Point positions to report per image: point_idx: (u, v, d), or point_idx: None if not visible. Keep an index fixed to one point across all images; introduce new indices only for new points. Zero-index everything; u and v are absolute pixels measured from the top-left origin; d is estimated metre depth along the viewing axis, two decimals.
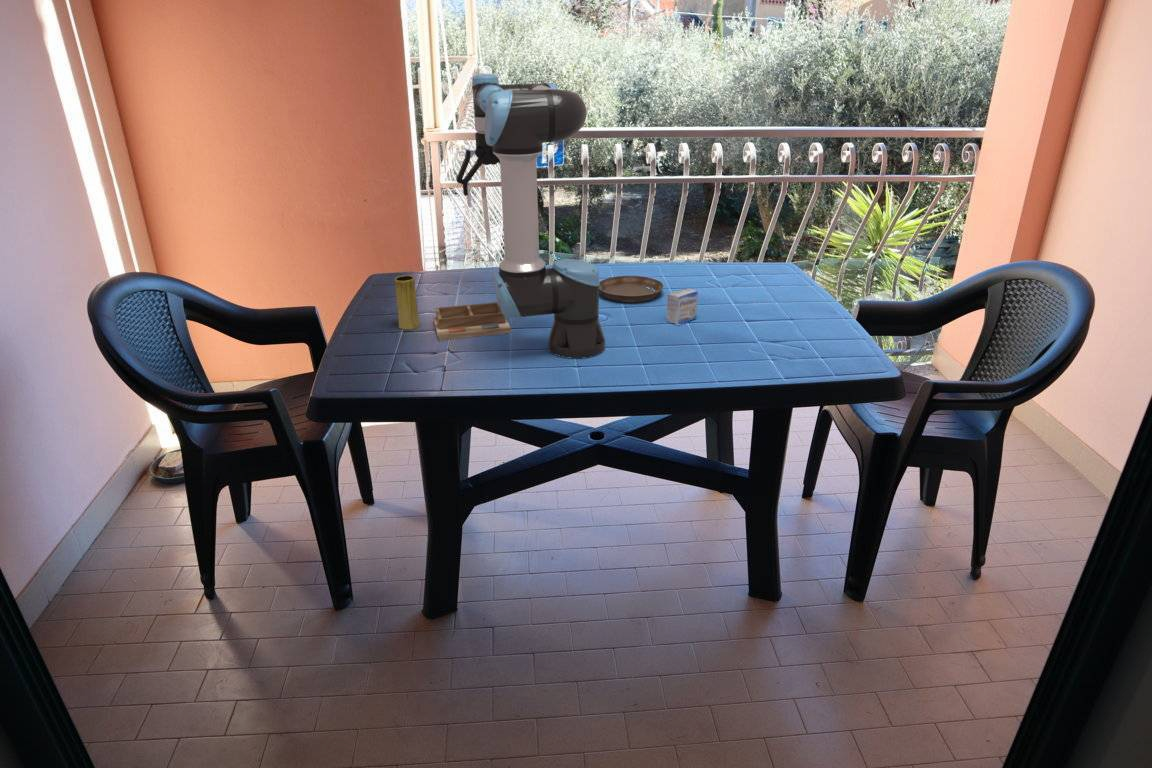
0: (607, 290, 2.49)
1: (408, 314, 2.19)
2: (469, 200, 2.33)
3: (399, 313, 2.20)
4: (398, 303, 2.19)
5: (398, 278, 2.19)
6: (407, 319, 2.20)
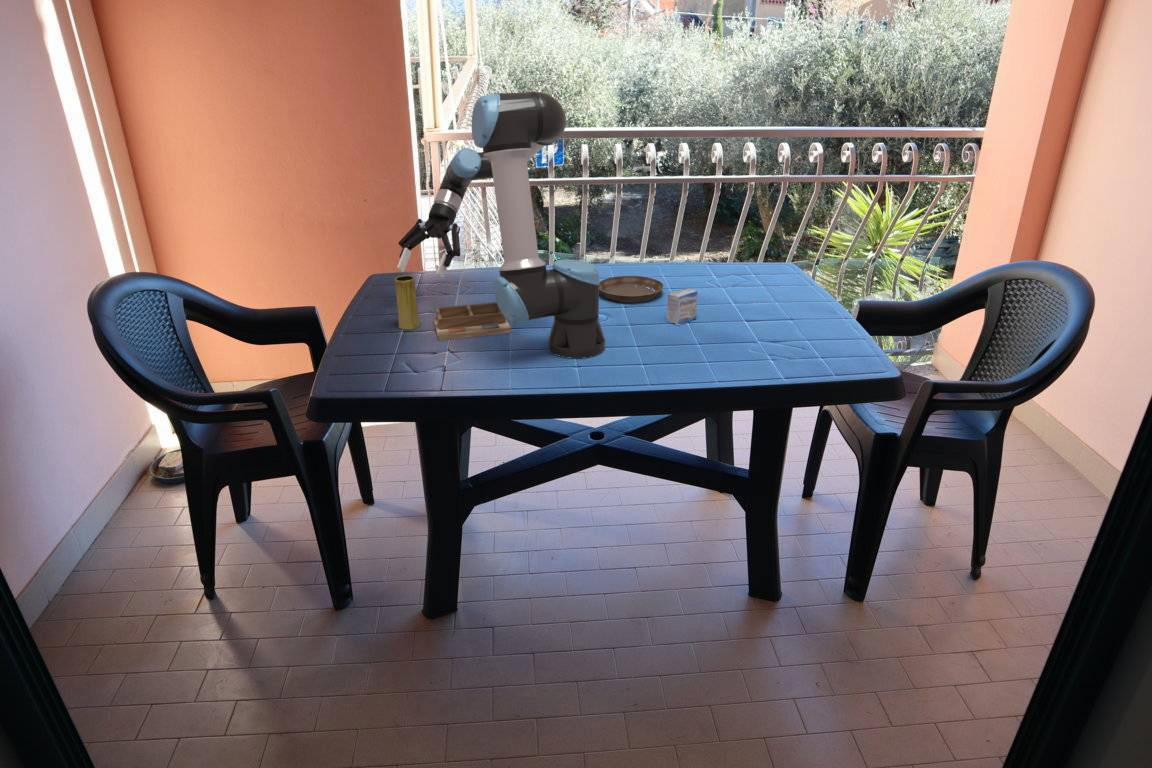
0: (607, 290, 2.49)
1: (408, 314, 2.19)
2: (400, 261, 2.26)
3: (399, 313, 2.20)
4: (398, 303, 2.19)
5: (398, 278, 2.19)
6: (407, 319, 2.20)
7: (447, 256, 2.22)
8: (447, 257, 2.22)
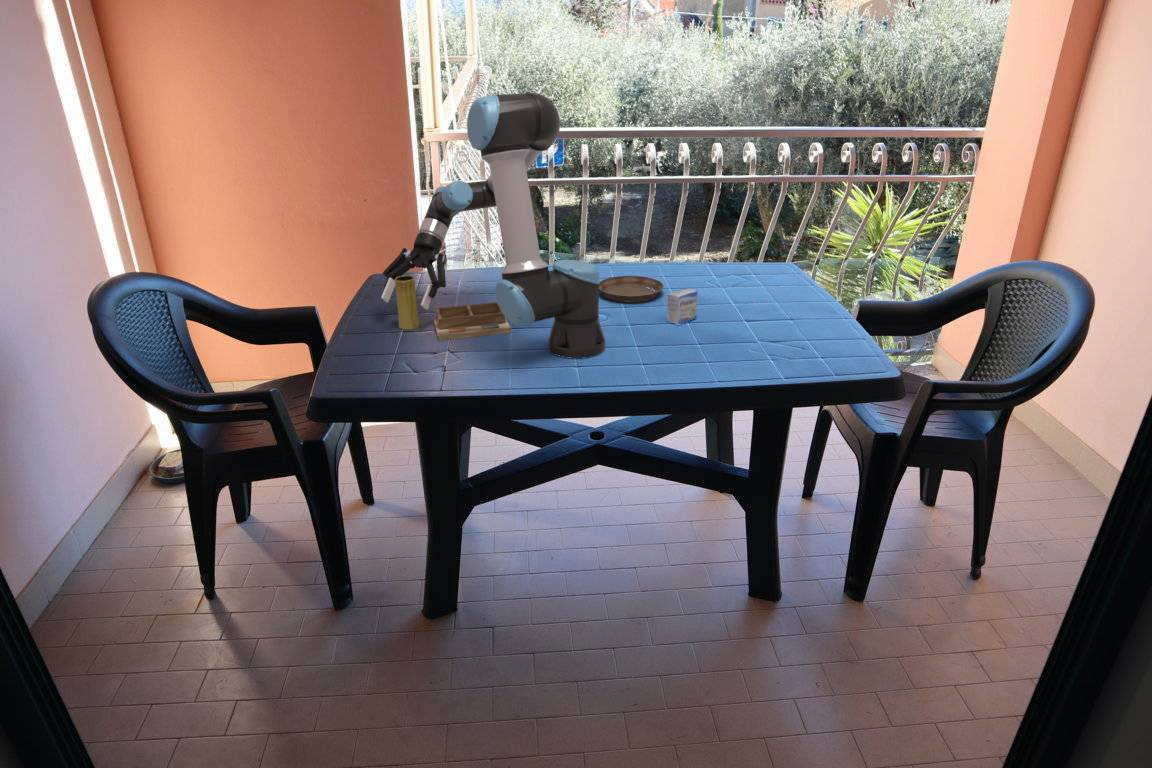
0: (607, 290, 2.49)
1: (408, 314, 2.19)
2: (384, 291, 2.22)
3: (399, 313, 2.20)
4: (398, 303, 2.19)
5: (398, 278, 2.19)
6: (407, 319, 2.20)
7: (432, 287, 2.18)
8: (432, 288, 2.18)
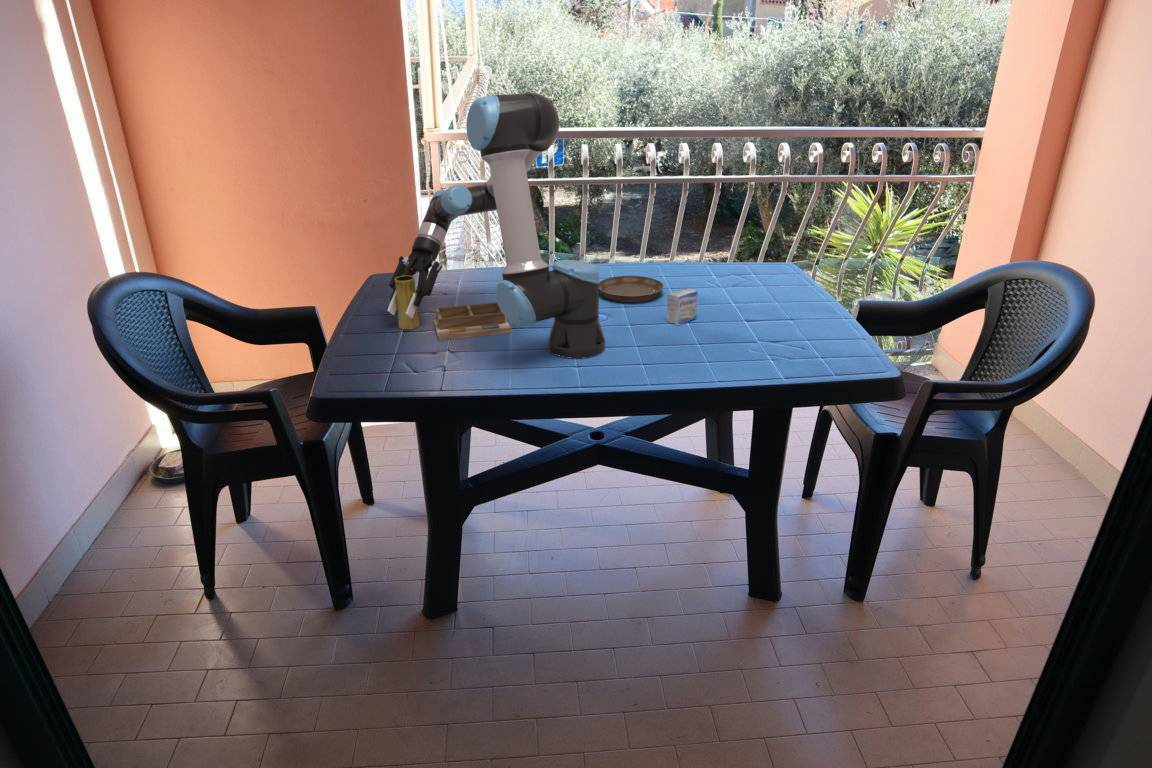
0: (607, 290, 2.49)
1: None
2: (390, 304, 2.19)
3: (399, 313, 2.20)
4: (398, 303, 2.19)
5: (398, 278, 2.19)
6: (407, 319, 2.20)
7: (417, 296, 2.18)
8: (417, 297, 2.18)
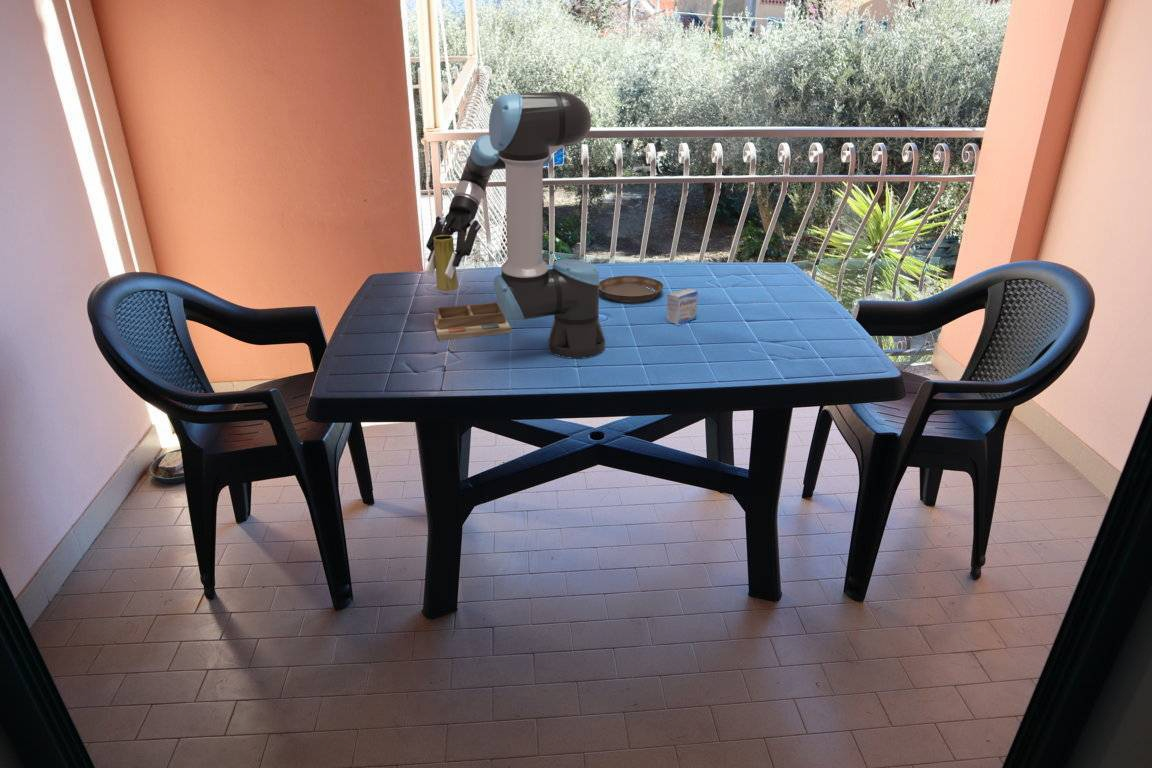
0: (607, 290, 2.49)
1: None
2: (428, 264, 2.13)
3: (437, 274, 2.14)
4: (436, 263, 2.13)
5: (436, 238, 2.13)
6: (446, 280, 2.14)
7: (456, 256, 2.12)
8: (456, 257, 2.12)
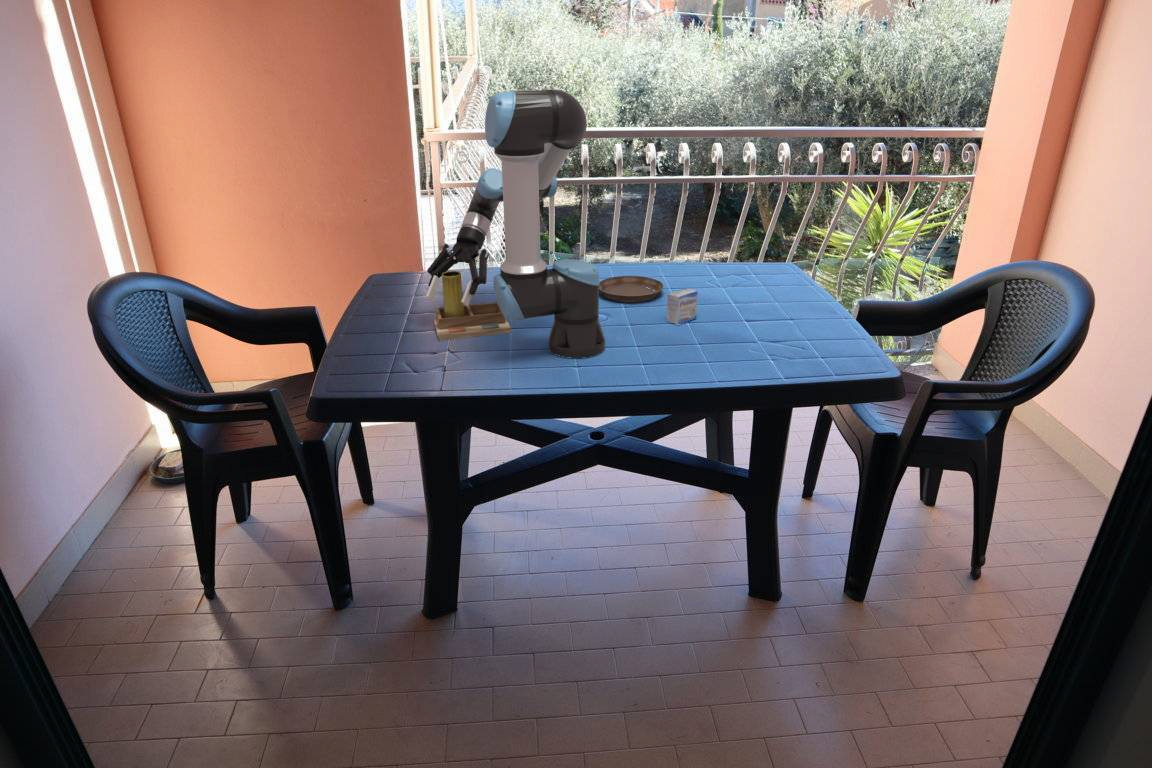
0: (607, 290, 2.49)
1: (454, 310, 2.17)
2: (429, 289, 2.18)
3: (445, 309, 2.18)
4: (444, 299, 2.17)
5: (445, 274, 2.17)
6: (453, 315, 2.18)
7: (473, 284, 2.15)
8: (473, 285, 2.15)
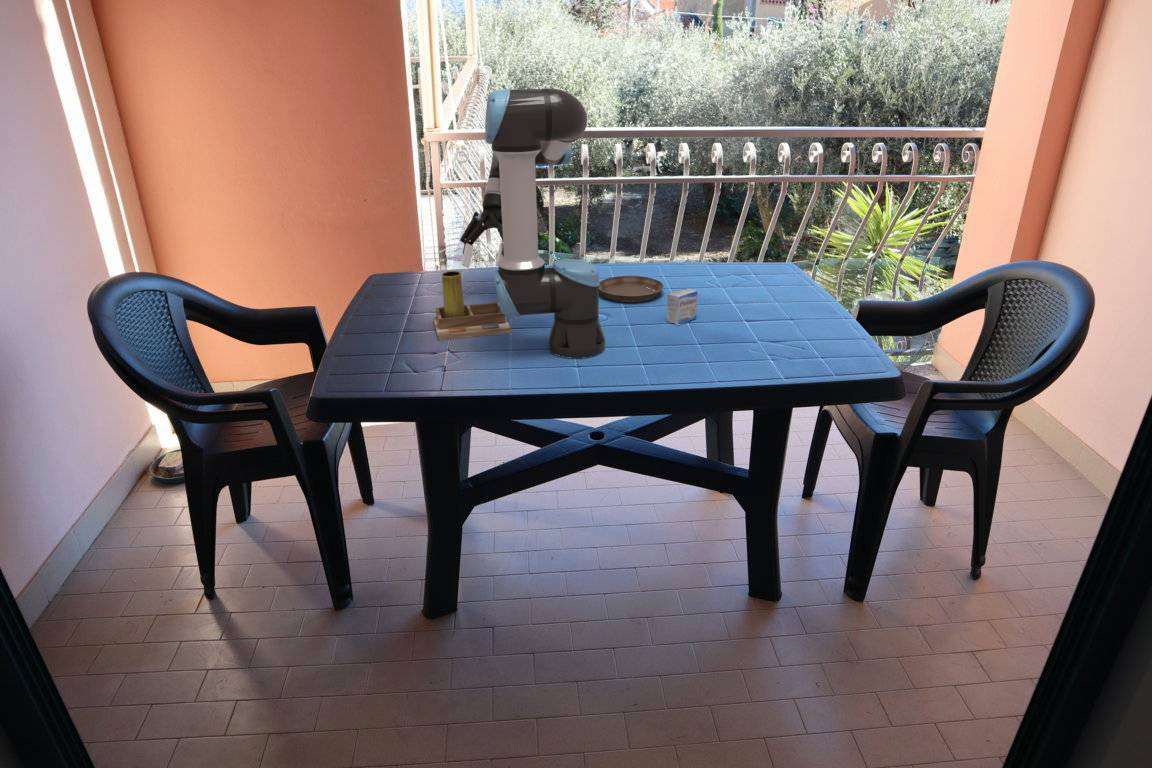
0: (607, 290, 2.49)
1: (454, 310, 2.17)
2: (463, 258, 2.30)
3: (445, 309, 2.18)
4: (444, 299, 2.17)
5: (445, 274, 2.17)
6: (453, 315, 2.18)
7: (504, 245, 2.23)
8: (504, 246, 2.23)
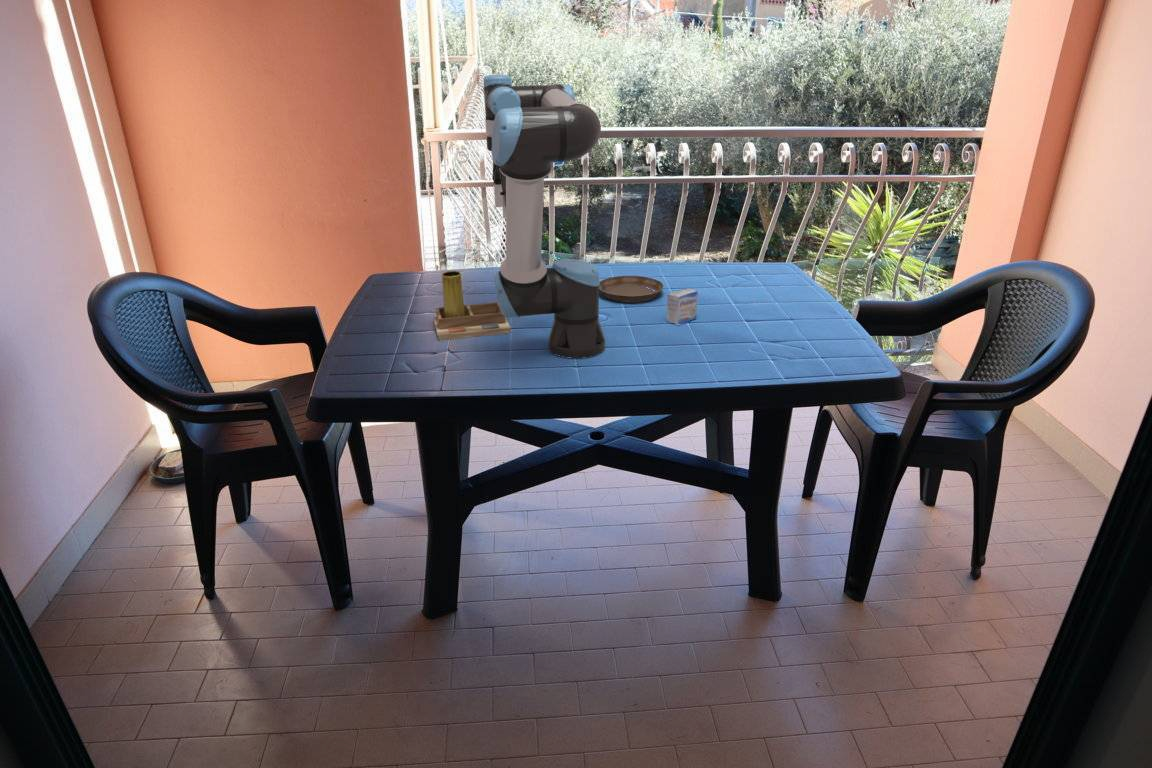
0: (607, 290, 2.49)
1: (454, 310, 2.17)
2: (495, 200, 2.30)
3: (445, 309, 2.18)
4: (444, 299, 2.17)
5: (445, 274, 2.17)
6: (453, 315, 2.18)
7: (505, 197, 2.15)
8: (505, 198, 2.15)
